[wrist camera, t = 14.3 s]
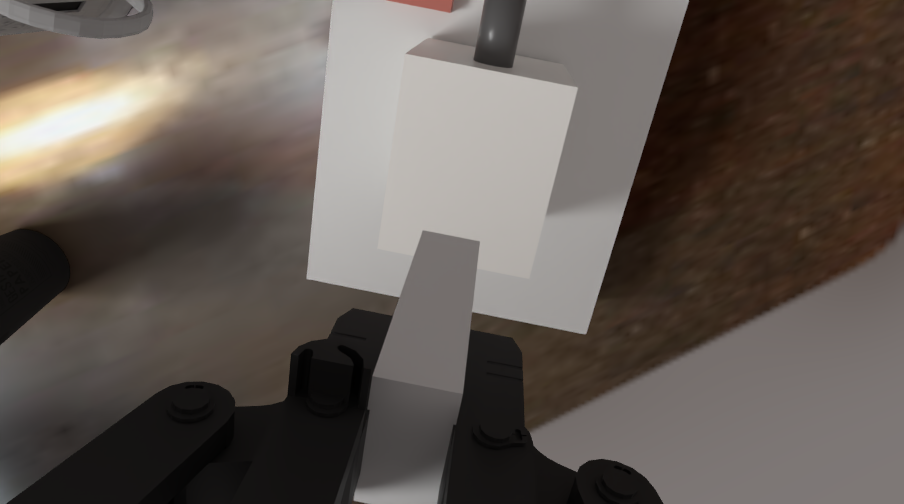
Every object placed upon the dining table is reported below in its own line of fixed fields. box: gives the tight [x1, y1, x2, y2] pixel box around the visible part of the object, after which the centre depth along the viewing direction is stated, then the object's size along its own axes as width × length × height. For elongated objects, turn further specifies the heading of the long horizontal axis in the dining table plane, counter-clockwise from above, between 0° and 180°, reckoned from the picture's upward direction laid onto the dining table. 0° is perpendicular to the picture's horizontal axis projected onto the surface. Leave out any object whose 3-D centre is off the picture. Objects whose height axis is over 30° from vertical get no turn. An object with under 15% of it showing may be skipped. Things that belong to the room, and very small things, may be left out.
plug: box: [377, 0, 578, 279], centre depth 29 cm, size 11×6×11 cm, turn 170°
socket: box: [307, 0, 689, 334], centre depth 33 cm, size 20×16×5 cm
